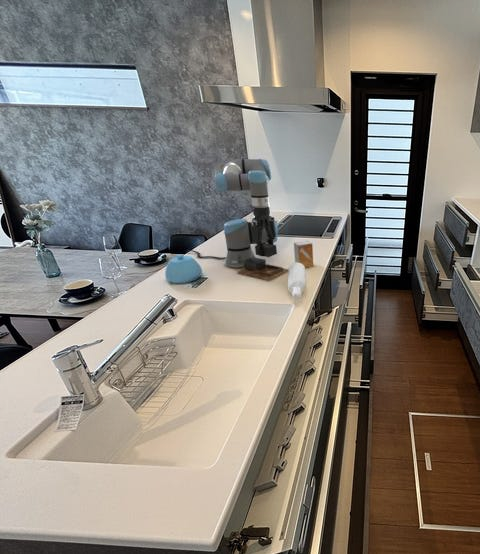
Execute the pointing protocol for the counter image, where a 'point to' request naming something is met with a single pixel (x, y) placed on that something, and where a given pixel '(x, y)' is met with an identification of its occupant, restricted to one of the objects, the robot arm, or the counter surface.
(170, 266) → the sugar bowl
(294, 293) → the bottle
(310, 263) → the small box
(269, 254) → the black rectangular block
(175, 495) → the counter surface
